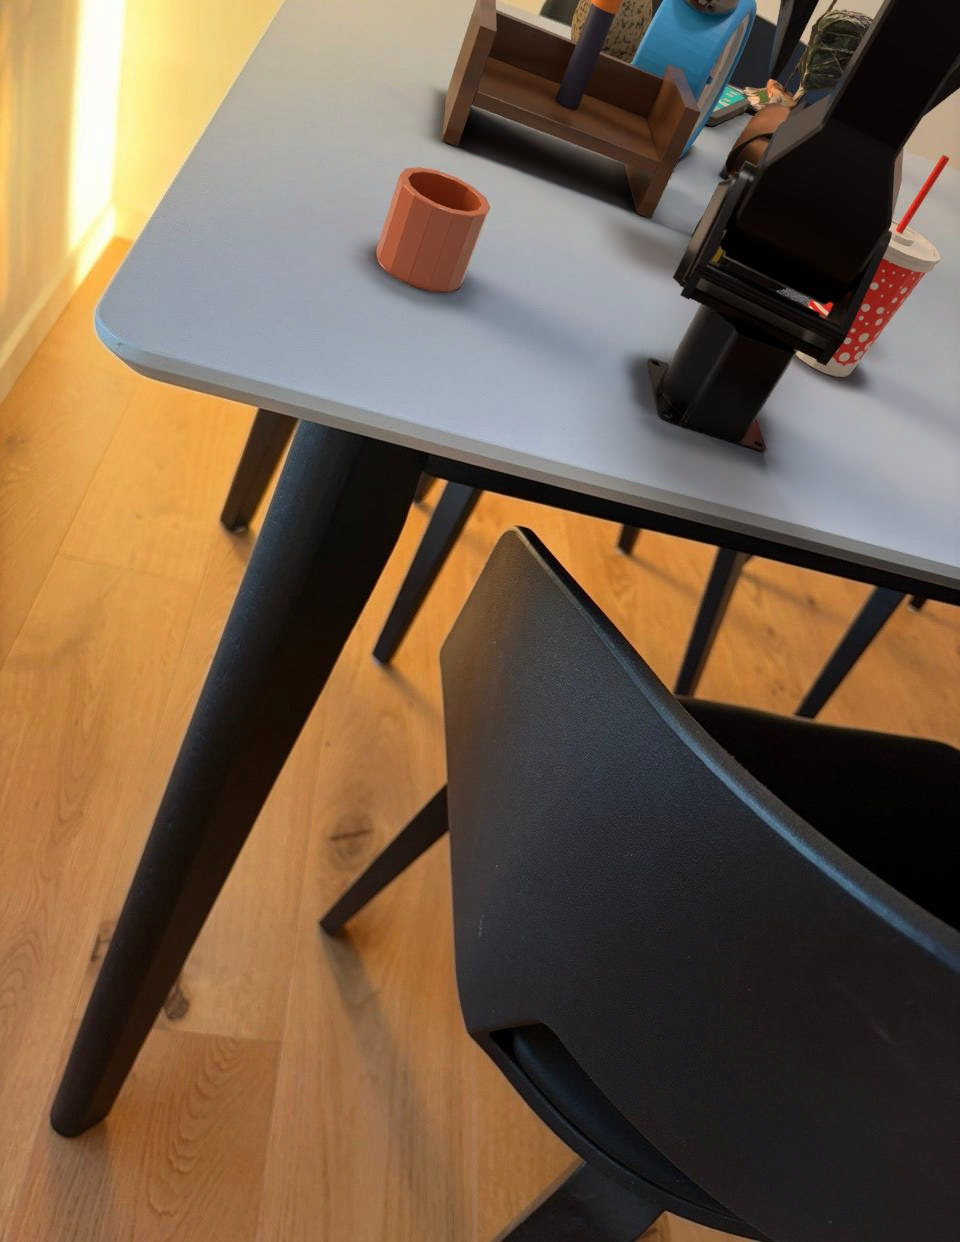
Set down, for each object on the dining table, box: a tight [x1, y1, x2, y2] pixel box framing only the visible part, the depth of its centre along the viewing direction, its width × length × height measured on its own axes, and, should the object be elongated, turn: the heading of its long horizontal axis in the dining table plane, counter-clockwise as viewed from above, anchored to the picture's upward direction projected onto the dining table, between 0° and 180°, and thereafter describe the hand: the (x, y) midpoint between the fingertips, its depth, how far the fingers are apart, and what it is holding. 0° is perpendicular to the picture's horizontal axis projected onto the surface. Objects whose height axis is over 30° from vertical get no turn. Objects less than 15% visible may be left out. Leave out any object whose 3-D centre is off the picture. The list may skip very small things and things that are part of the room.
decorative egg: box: [570, 0, 653, 64], centre depth 103 cm, size 7×7×10 cm
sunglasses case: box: [725, 102, 789, 179], centre depth 102 cm, size 18×7×7 cm
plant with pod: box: [742, 0, 874, 112], centre depth 112 cm, size 8×11×20 cm
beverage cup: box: [795, 154, 950, 378], centre depth 70 cm, size 6×6×14 cm
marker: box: [556, 0, 623, 110], centre depth 79 cm, size 2×2×10 cm
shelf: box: [441, 0, 701, 219], centre depth 82 cm, size 10×16×8 cm, turn 90°
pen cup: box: [375, 166, 491, 293], centre depth 61 cm, size 5×5×5 cm
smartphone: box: [705, 84, 751, 127], centre depth 112 cm, size 9×1×15 cm
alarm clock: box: [630, 0, 758, 158], centre depth 91 cm, size 13×6×15 cm, turn 156°
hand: (835, 104), depth 70 cm, fingers open, 9 cm apart
